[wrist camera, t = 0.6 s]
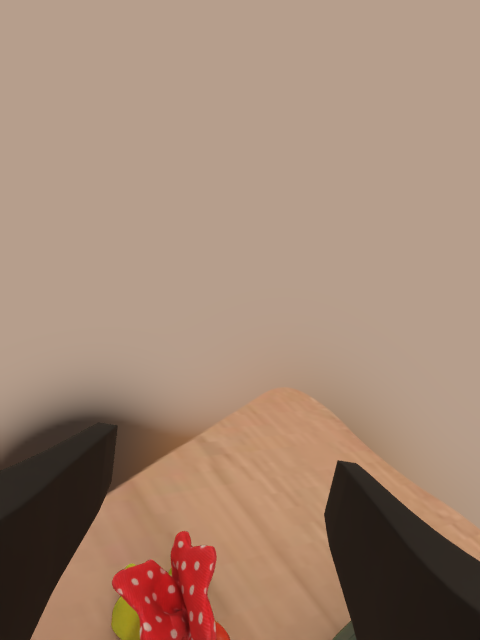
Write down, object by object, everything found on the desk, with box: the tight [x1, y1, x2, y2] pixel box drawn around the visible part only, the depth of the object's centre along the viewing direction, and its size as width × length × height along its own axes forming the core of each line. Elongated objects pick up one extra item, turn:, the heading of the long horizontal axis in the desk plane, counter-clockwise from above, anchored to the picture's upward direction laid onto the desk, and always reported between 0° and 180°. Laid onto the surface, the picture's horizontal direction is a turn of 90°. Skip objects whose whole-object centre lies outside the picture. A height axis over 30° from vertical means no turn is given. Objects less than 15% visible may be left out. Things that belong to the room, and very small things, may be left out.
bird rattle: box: [111, 531, 230, 640], centre depth 19 cm, size 6×11×9 cm
